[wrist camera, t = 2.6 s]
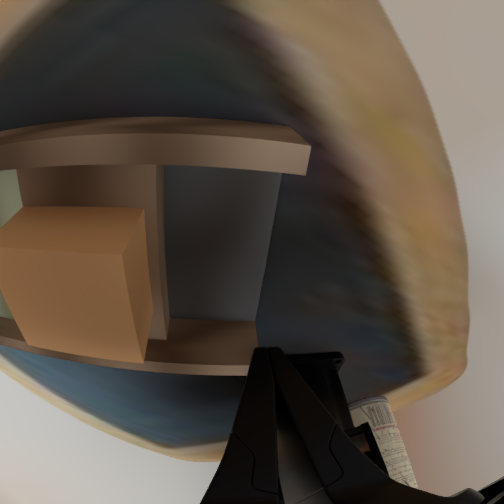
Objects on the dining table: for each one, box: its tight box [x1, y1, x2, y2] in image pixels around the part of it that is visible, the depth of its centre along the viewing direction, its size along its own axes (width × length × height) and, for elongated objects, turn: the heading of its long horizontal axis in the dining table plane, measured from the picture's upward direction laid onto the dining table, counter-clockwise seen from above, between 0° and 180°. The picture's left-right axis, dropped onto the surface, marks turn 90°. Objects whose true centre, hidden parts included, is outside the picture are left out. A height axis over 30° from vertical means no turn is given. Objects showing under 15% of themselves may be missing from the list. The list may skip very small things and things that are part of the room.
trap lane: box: [0, 117, 311, 376], centre depth 12 cm, size 22×12×4 cm, turn 83°
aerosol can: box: [348, 396, 418, 489], centre depth 20 cm, size 7×7×20 cm
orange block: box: [0, 206, 153, 363], centre depth 11 cm, size 6×6×3 cm
